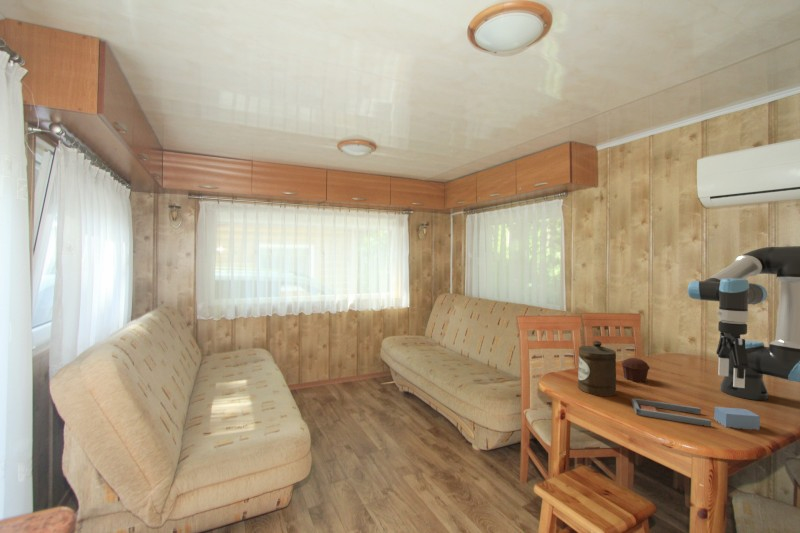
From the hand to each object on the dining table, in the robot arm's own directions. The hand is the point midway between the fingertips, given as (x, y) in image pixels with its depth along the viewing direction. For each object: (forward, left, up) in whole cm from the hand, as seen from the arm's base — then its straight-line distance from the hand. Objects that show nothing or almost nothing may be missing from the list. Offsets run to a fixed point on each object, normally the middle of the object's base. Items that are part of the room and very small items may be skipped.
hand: (730, 381), depth 127 cm
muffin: (+23, -41, -16) cm, 50 cm away
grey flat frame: (+18, 0, -15) cm, 24 cm away
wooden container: (+41, -16, -16) cm, 47 cm away
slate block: (-2, 0, -16) cm, 16 cm away
